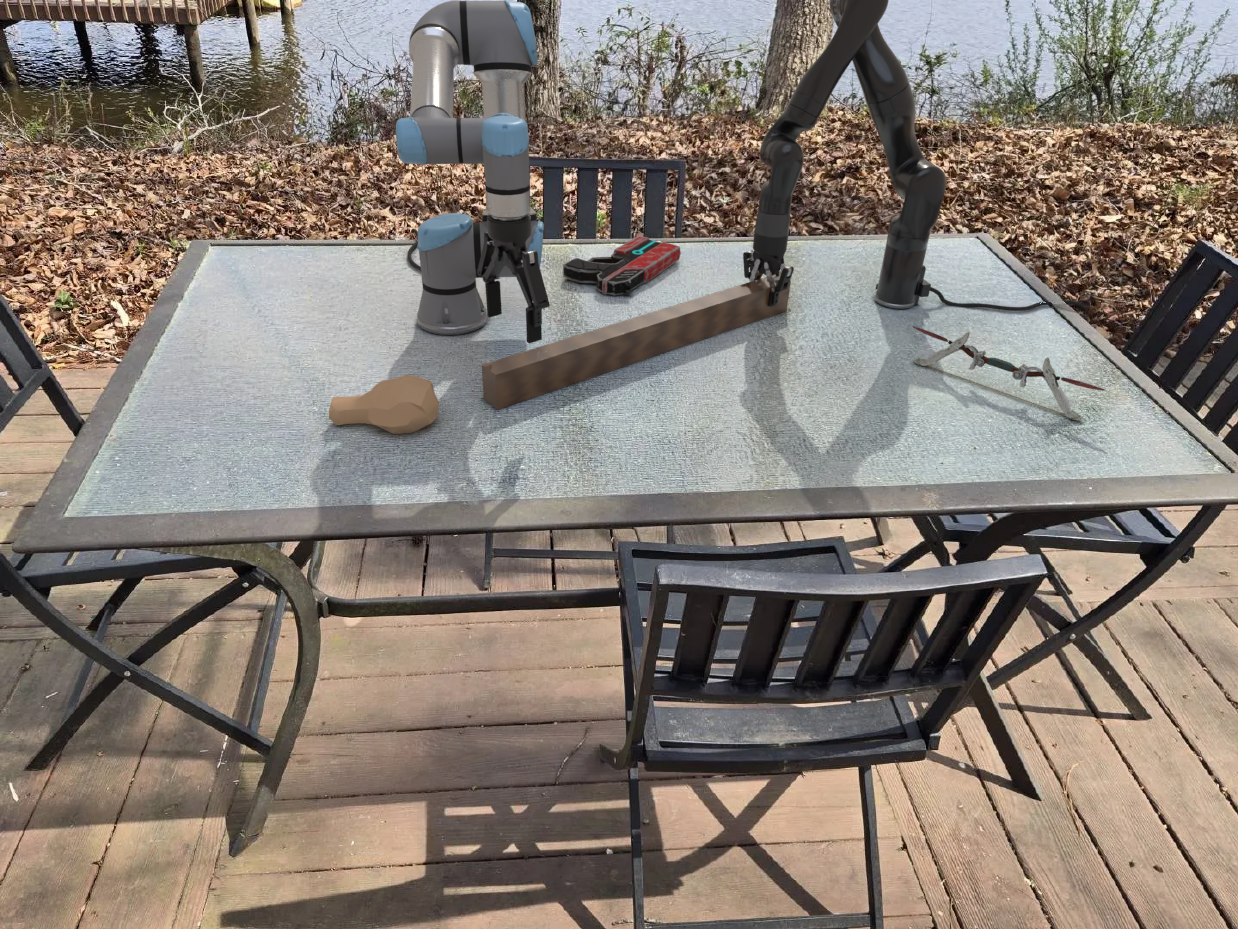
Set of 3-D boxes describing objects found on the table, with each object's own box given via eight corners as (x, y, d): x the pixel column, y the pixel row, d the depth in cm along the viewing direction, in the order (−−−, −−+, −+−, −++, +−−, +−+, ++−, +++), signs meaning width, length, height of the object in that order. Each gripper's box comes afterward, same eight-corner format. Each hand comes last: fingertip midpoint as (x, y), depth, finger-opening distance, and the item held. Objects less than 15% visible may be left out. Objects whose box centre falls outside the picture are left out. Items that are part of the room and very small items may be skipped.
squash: (439, 440, 156) (426, 401, 150) (330, 449, 157) (313, 410, 151) (448, 401, 164) (436, 363, 157) (344, 410, 165) (328, 372, 159)
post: (497, 410, 165) (495, 374, 161) (483, 399, 168) (481, 364, 164) (786, 310, 207) (791, 280, 203) (771, 303, 210) (775, 274, 206)
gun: (556, 265, 215) (624, 284, 207) (621, 228, 237) (685, 244, 229) (556, 282, 217) (623, 301, 209) (620, 244, 239) (683, 260, 231)
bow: (1094, 423, 166) (1111, 376, 160) (1090, 426, 165) (1108, 379, 159) (907, 357, 187) (917, 313, 182) (903, 359, 186) (913, 316, 181)
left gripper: (568, 229, 144) (569, 346, 156) (489, 192, 160) (495, 300, 172) (530, 238, 140) (534, 358, 152) (453, 198, 156) (462, 309, 168)
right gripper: (807, 235, 192) (797, 308, 201) (760, 218, 201) (752, 288, 210) (784, 242, 188) (774, 316, 197) (737, 224, 197) (729, 295, 206)
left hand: (513, 327), depth 162 cm, fingers open, 13 cm apart
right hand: (763, 301), depth 204 cm, fingers closed on post, 5 cm apart
